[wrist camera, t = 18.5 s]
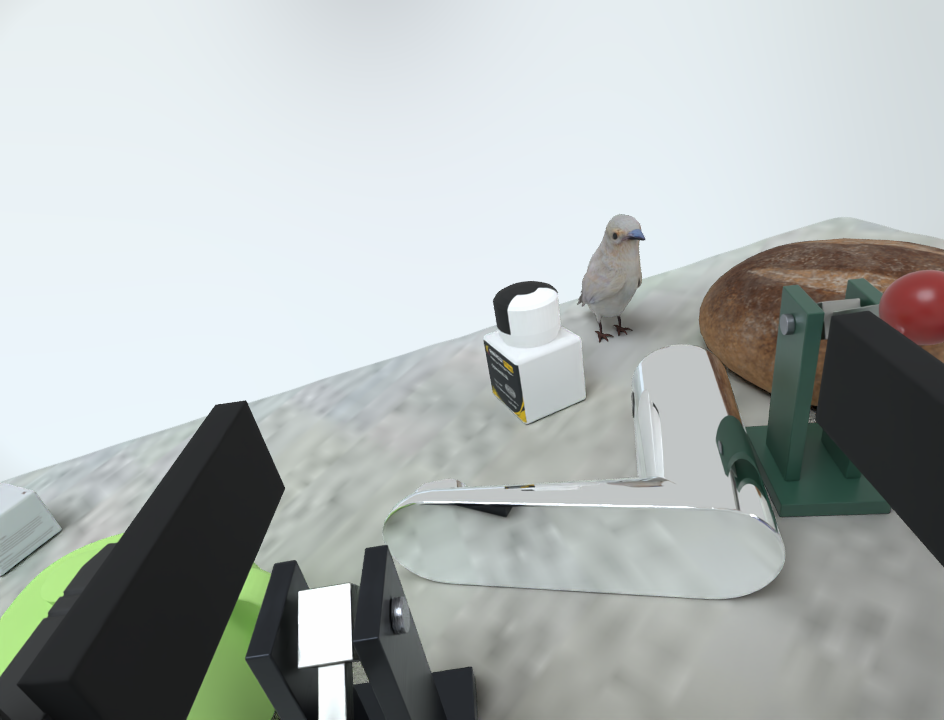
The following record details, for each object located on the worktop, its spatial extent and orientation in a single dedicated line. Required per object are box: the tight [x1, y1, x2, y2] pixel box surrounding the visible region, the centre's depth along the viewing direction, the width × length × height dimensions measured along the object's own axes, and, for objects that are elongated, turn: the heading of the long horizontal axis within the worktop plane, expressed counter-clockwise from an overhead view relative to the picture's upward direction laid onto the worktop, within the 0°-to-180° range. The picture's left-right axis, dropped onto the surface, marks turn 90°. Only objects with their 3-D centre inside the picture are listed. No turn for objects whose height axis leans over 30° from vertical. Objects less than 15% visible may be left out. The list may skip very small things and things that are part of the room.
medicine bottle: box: [483, 281, 586, 424], centre depth 55 cm, size 7×7×12 cm
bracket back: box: [745, 278, 891, 517], centre depth 40 cm, size 9×7×15 cm
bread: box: [699, 238, 944, 406], centre depth 54 cm, size 26×27×10 cm
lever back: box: [816, 270, 944, 345], centre depth 32 cm, size 13×4×4 cm, turn 173°
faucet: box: [382, 344, 785, 599], centre depth 44 cm, size 25×8×19 cm
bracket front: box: [245, 545, 478, 720], centre depth 26 cm, size 10×8×15 cm
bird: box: [577, 214, 645, 342], centre depth 63 cm, size 5×14×15 cm, turn 20°
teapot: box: [0, 533, 275, 720], centre depth 32 cm, size 22×15×13 cm
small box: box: [0, 482, 62, 576], centre depth 50 cm, size 6×6×5 cm
